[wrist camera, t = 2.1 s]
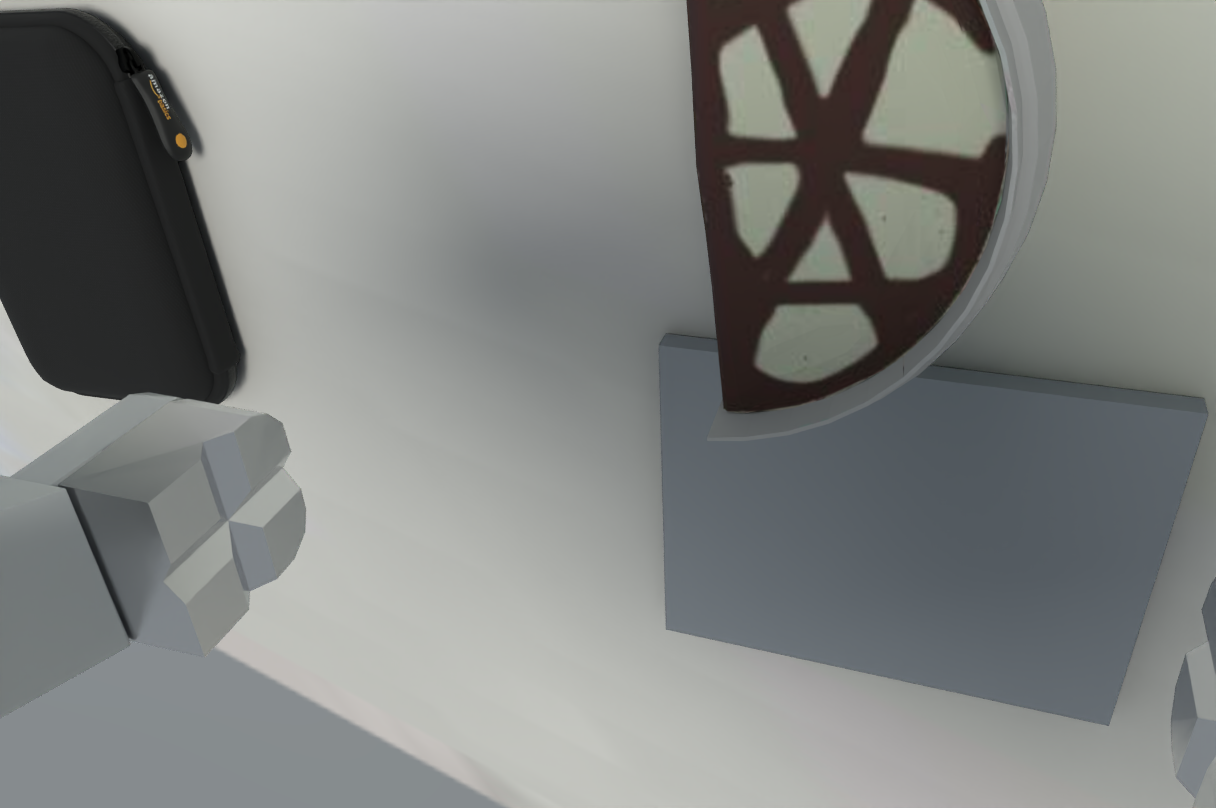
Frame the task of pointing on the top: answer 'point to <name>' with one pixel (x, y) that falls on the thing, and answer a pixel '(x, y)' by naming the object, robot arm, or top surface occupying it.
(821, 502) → the slate mat
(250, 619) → the top surface
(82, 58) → the carrying case or bag
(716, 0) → the food container
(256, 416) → the robot arm
